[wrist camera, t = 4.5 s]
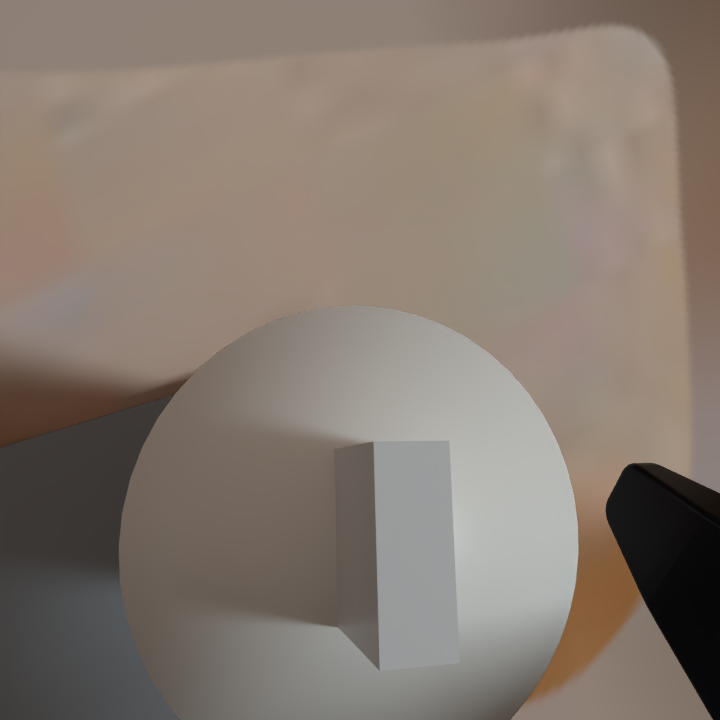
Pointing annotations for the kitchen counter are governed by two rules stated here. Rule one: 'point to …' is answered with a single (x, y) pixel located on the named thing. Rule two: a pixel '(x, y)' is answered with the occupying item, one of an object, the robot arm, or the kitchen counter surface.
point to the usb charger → (349, 528)
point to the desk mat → (71, 574)
